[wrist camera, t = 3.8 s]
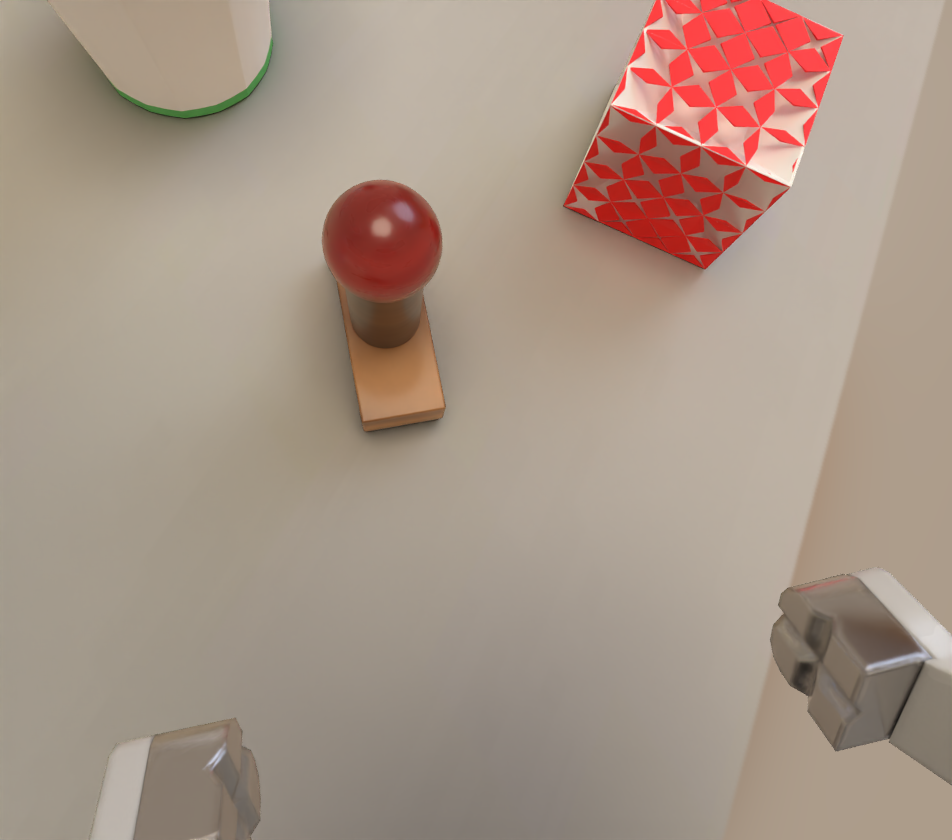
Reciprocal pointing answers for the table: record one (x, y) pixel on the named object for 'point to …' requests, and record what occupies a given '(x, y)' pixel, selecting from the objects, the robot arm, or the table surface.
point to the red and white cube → (705, 123)
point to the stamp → (387, 299)
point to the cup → (175, 49)
